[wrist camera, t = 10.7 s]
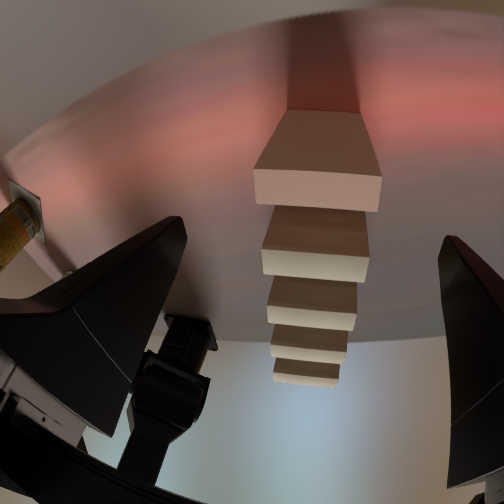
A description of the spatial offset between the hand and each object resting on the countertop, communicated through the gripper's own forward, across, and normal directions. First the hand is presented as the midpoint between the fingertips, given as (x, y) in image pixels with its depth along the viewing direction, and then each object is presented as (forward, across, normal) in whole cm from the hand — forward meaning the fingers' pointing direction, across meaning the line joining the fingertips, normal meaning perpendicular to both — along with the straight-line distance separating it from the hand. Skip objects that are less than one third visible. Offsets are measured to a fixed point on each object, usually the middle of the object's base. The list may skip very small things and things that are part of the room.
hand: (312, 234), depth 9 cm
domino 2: (+13, 0, +4) cm, 14 cm away
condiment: (+13, +38, +8) cm, 41 cm away
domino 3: (+13, 0, +8) cm, 15 cm away
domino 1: (+13, 0, 0) cm, 13 cm away
